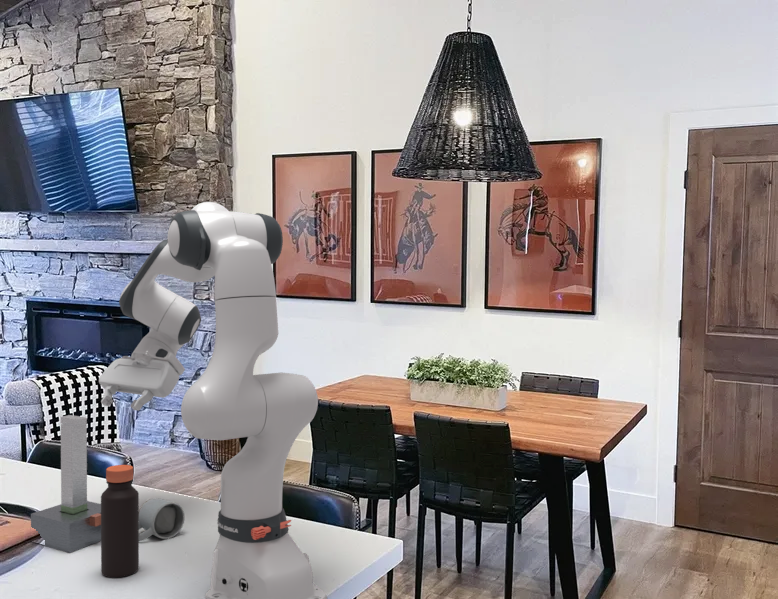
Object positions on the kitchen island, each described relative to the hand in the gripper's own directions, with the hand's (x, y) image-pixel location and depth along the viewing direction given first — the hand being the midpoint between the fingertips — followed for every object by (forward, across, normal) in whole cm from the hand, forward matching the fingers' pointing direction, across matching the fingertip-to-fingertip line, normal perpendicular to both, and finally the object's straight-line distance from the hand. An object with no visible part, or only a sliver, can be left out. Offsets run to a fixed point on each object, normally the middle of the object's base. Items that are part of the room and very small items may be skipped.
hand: (119, 406), depth 174 cm
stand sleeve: (+27, 0, +10) cm, 29 cm away
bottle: (+33, +22, +5) cm, 40 cm away
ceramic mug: (+20, +13, +17) cm, 30 cm away
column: (+24, 0, +7) cm, 25 cm away
